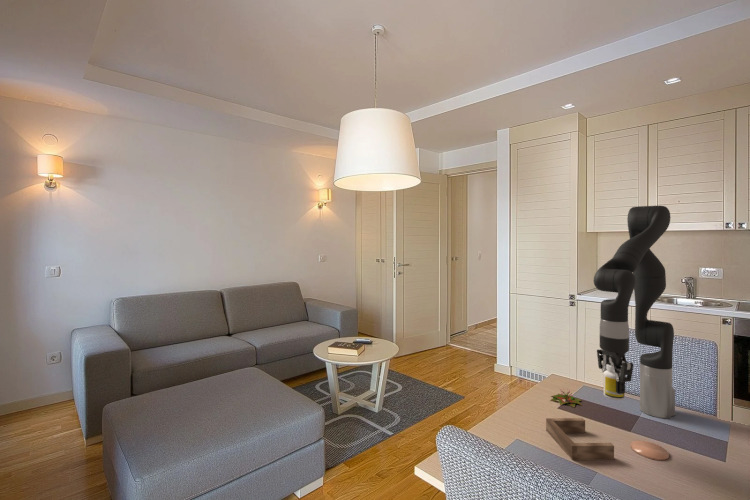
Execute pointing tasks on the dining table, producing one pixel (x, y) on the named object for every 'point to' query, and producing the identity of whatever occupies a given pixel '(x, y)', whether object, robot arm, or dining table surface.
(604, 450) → the walnut cubby
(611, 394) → the supplement bottle
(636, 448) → the terracotta coaster
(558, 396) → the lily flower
